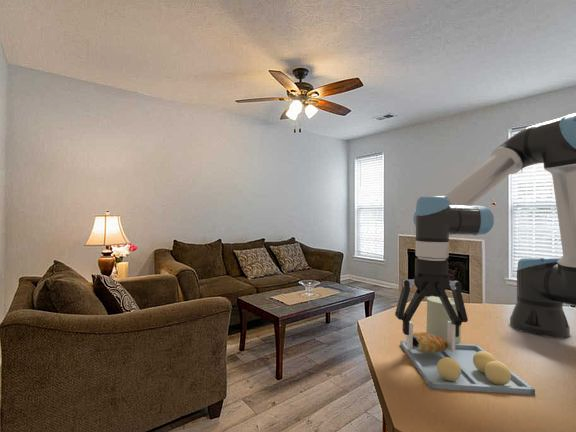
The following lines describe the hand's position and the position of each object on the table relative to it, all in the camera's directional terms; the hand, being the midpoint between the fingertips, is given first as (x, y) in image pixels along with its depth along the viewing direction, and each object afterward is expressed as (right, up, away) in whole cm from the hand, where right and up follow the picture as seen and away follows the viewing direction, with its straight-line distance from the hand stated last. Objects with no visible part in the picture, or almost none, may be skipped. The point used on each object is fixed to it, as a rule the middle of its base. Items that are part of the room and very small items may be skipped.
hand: (430, 348), depth 79 cm
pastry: (-1, -1, +1) cm, 1 cm away
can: (+10, -3, +13) cm, 17 cm away
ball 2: (+9, -2, -12) cm, 15 cm away
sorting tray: (+4, -3, -4) cm, 7 cm away
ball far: (-1, -2, -11) cm, 11 cm away
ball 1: (+9, -2, -7) cm, 12 cm away
